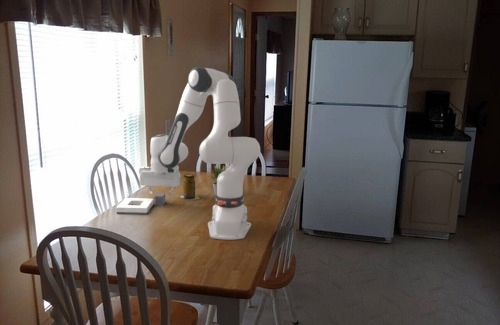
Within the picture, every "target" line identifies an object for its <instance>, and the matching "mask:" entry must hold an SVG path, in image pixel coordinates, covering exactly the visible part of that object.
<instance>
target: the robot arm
mask: <svg viewBox="0 0 500 325" xmlns="http://www.w3.org/2000/svg"><path fill="white" fill-rule="evenodd" d="M237 88H238V87H237V85H236V83H235V79H234V77H233V76H232V75H231V74H229V73H227V72H224V71H220V70H218V69H217V70H216V69H215V68H209V67H203V66H195V67H193V68H192V69H191V70H190V71H189V74H188V76H187V83H186V86H185V88H184V89H183V92H182V95H181V98H180V101H179V104H178V109H177V112H176V114H175V118H174V121H173V124H172V126H171V129H170V131H169V134H168V135H167V134H166V133H160V134H156V135H154V136H151V139H150V145H149V149H150V156H151V158H150V166H141V167H140V168H139V169H138V174H139V185H140V186H145V187H146V188H147V190H148V192H149V195H153V194H154V189H152V188H151V187H170V189H171V190H168V196H172V195H173V190H174V189H175V187H176V188H178V187H179V188H180V187H181V185H182V176H181V172H180V171H179V168H180V167H179V164H180V163H182V162H183V161H184V160H185V159H187V158H188V156H189V148H188V146H187V145H186V143H184V142H182V141H183V139H184V136H185V134H186V131H187V130H188V129H189V128H190V127H191V126H192V125H193V124H194V123H195V122H196V121H197V120H198V119H199V118H200V117H201V115H202V113H203V111H204V108H205V105H206V102H207V98H208V97H209V96H212V102H213V104H212V105H213V126H212V129H211V131H210V133H209V135H208V136H207V137H206V138H205V139H203V141H202V142H201V143H200V145H199V149H198V154H199V157H200V159H201V160H202V162H204V163H206V164H210V165H223V164H225V165H226V164H230V165H229V167H227V168H226V170H225V171H223V172H222V173H220V174H219V176H218V178H217V194H216V195H215V204H214V205H213V206H212V217H211V218H210V219H211V221H208V222H207V227H208V233H209V236H210V238H211V239H217V240H225V241H226V240H228V241H229V240H241V239H244V238H245V237H246V236H247V233H248V232H249V230H250V229H251V227H252V223H251V222H248V208H247V206H246V205H245V204H244V203H245V202H244V200H245V197H244V194H243V191H244V190H243V188H244V179H245V175H246V173H247V170H248V168H250V166H251V165H252V164H253V163H254V162H255V161H257V159H258V158H259V156H260V154H261V146H260V142H258V140H257V139H256V138H255V137H250V136H249V137H248V136H231V137H230V136H229V132H230V131H232V130H234V129H235V128H237V127H238V126H239V125H240V123H241V120H242V119H241V107H240V98H239V93H238V89H237Z"/></svg>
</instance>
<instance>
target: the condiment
mask: <svg viewBox="0 0 500 325" xmlns="http://www.w3.org/2000/svg"><path fill="white" fill-rule="evenodd" d="M182 182H183V188H182V189H183V195H180V196H179V197H180V198H182V199H184V200H186V201H193V200H194V201H195V200H198V199H200V197H199V196H197V195H196V179H195V174H194V173H186V174H184V175H183V181H182Z"/></svg>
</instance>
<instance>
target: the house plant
mask: <svg viewBox="0 0 500 325" xmlns="http://www.w3.org/2000/svg"><path fill="white" fill-rule="evenodd" d="M225 165H226V164H225ZM225 165H223V166H222V167H221V169H220V167H219V166H220V165H217V166H216V165H214V169H211V168H209V170H210V171H211V173H212V174H213V176H212V175H208V176H207V177H209V178H212V179H214V182H212V186H213V192H214V196H216V194H217V178H218V176H219V174H220V173H222V172H223V171H225V170H227V168H228V167H227V166H225Z"/></svg>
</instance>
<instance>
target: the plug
mask: <svg viewBox="0 0 500 325" xmlns="http://www.w3.org/2000/svg"><path fill="white" fill-rule="evenodd" d="M165 204H166V193H165V192H157V193H156V194H155V196H154V205H156V206H157V207H159V206H160V207H162V206H163V207H164V206H165Z"/></svg>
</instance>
